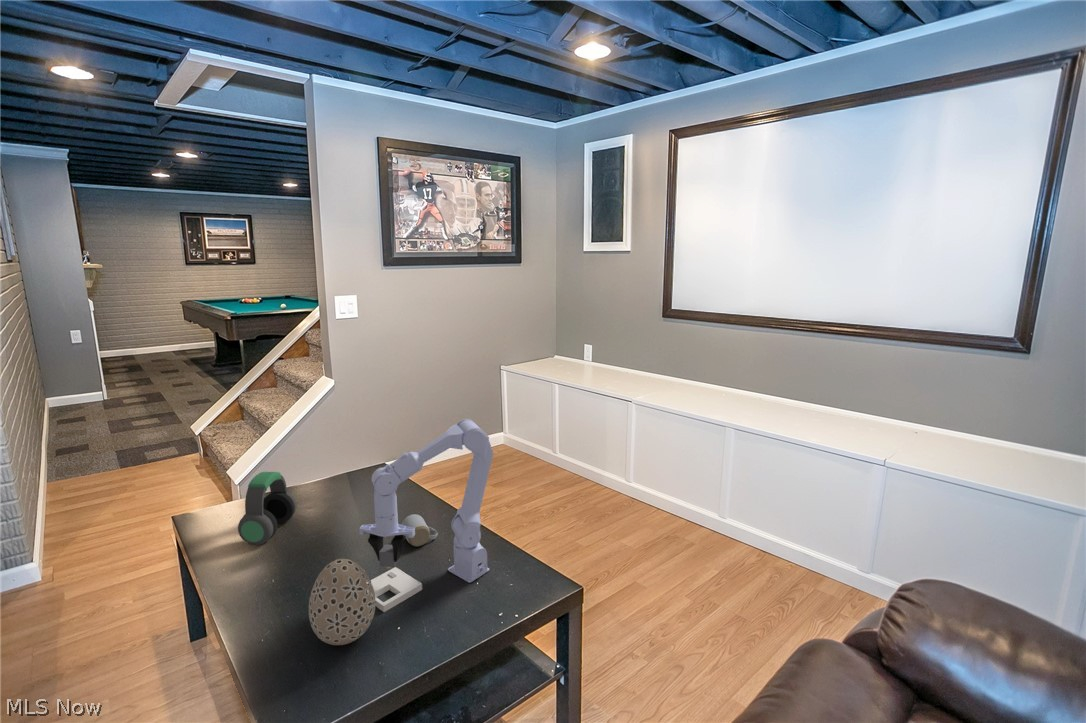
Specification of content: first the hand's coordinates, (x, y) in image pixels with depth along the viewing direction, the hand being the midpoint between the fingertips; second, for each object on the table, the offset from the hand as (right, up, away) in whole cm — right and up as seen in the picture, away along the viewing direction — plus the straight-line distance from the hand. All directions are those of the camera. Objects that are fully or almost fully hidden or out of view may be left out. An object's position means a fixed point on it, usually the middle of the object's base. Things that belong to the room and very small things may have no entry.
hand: (388, 559), depth 141 cm
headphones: (-48, -3, +31) cm, 57 cm away
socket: (0, -9, +1) cm, 9 cm away
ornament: (-6, -13, -16) cm, 21 cm away
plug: (0, -2, +1) cm, 2 cm away
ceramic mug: (+2, -4, +26) cm, 27 cm away
